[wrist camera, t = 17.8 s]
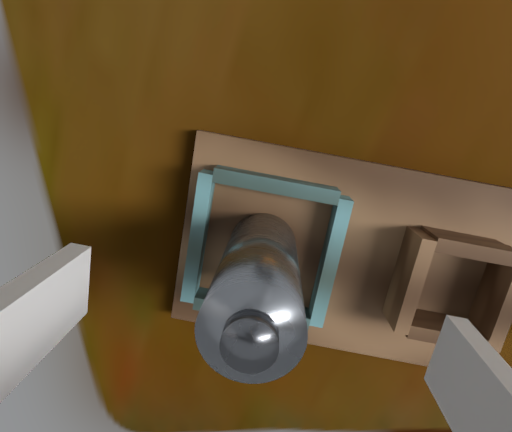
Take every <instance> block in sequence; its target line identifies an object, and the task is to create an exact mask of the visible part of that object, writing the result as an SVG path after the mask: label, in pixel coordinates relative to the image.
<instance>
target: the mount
mask: <svg viewBox="0 0 512 432" xmlns="http://www.w3.org/2000/svg"><path fill="white" fill-rule="evenodd" d="M257 213H268V214H272V215H275V216H277V217H279V218H281V219H282V220H284V221H285V222H286V223H287V224H288V225H289V226H290V228H291V229H292V231H293V233H294V236H295V240H296V248H297V255H298V263H299V270H300V277H301V285H302V292H303V300H304V307H305V315H306V322H307V329H308V340H307V344H312V345H318V346H323V347H328V348H333V349H339V350H344V351H349V352H354V353H359V354H365V355H370V356H375V357H380V358H386V359H391V360H396V361H401V362H407V363H412V364H417V365H422V366H428V365H429V363H430V360H431V357H432V354H433V351H434V348H435V346H436V343H437V340H438V337H439V334H440V332H441V329H442V326H443V323H444V320H445V318H446V315H450V316H455V317H460V318H466V319H468V320H469V321H470V322H471V323H472V324H473V326H474V327H475V328H476V329H477V330H478V331H479V332H480V333H481V335H482V336H483V337H484V338H485V339H486V340H487V341H488V342H489V344H490V345H491V346H492V347H493V348H494V349H495V350H496V351H497V352H498V353H500V352H501V349H502V346H503V344H504V341H505V339H506V336H507V334H508V331H509V328H510V326H511V323H512V188H509V187H504V186H498V185H493V184H488V183H482V182H477V181H471V180H466V179H461V178H455V177H450V176H445V175H439V174H434V173H429V172H423V171H418V170H412V169H407V168H402V167H396V166H391V165H386V164H380V163H375V162H369V161H364V160H359V159H353V158H348V157H343V156H337V155H332V154H326V153H321V152H316V151H310V150H305V149H300V148H294V147H289V146H284V145H278V144H273V143H267V142H262V141H257V140H251V139H246V138H241V137H235V136H230V135H224V134H219V133H214V132H208V131H203V130H197V132H196V140H195V147H194V154H193V161H192V169H191V176H190V183H189V191H188V198H187V205H186V212H185V220H184V227H183V234H182V242H181V249H180V256H179V263H178V271H177V278H176V285H175V293H174V300H173V307H172V314H171V318H176V319H181V320H187V321H192V322H196V319H197V316H198V313H199V311H200V308H201V306H202V304H203V301H204V299H205V296H206V294H207V292H208V289H209V287H210V284H211V282H212V280H213V277H214V275H215V272H216V270H217V268H218V265H219V263H220V261H221V258H222V256H223V253H224V251H225V249H226V246H227V244H228V241H229V239H230V237H231V234H232V232H233V230H234V228H235V227H236V225H237V224H238V223H239V222H240V221H241V220H243V219H244V218H246V217H247V216H250V215H253V214H257Z"/></svg>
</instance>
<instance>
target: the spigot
mask: <svg viewBox="0 0 512 432" xmlns="http://www.w3.org/2000/svg"><path fill="white" fill-rule="evenodd" d="M195 339H196V343H197V346H198V349H199V351H200V353H201V355H202V357H203V358H204V360H205V361H206V362H207V363H208V364H209V366H210V367H211V368H213V369H214V370H215V371H216V372H218V373H219V374H221V375H222V376H224V377H226V378H228V379H231V380H234V381H237V382H241V383H248V384H258V383H265V382H270V381H273V380H276V379H278V378H280V377H282V376H284V375H285V374H287V373H288V372H290V371H291V370H292V369H293V368H294V367H295V366H296V365H297V364H298V363H299V361H300V360H301V358H302V356H303V354H304V352H305V349H306V346H307V340H308V329H307V322H306V315H305V307H304V300H303V292H302V285H301V277H300V270H299V263H298V255H297V248H296V240H295V236H294V233H293V231H292V229H291V228H290V226H289V225H288V224H287V223H286V222H285V221H284V220H282V219H281V218H279V217H277V216H275V215H272V214H268V213H257V214H253V215H250V216H247V217H246V218H244V219H243V220H241V221H240V222H239V223H238V224H237V225H236V227H235V228H234V230H233V232H232V234H231V237H230V239H229V241H228V244H227V246H226V249H225V251H224V253H223V256H222V258H221V261H220V263H219V265H218V268H217V270H216V272H215V275H214V277H213V280H212V282H211V284H210V287H209V289H208V292H207V294H206V296H205V299H204V301H203V304H202V306H201V308H200V311H199V313H198V316H197V319H196V323H195Z"/></svg>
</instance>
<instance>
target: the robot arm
mask: <svg viewBox="0 0 512 432" xmlns="http://www.w3.org/2000/svg"><path fill="white" fill-rule="evenodd" d="M90 261H91V246H85V245H80V244H75V243H70V244H68V245H67V246H65V247H63V248H62V249H60V250H59V251H57V252H55V253H54V254H52V255H51V256H49V257H47V258H46V259H44V260H43V261H41V262H39V263H38V264H36V265H35V266H33V267H31V268H30V269H28V270H27V271H25V272H24V273H22V274H21V275H19V276H17V277H15V278H14V279H12V280H11V281H9V282H8V283H6V284H4V285H3V286H1V287H0V403H1V402H2V401H3V400H4V399H5V398H6V397H7V396H8V394H10V392H11V391H12V390H13V389H14V388H15V387H16V386H17V385H18V384H19V383H20V382H21V381H22V380H23V379H24V378H25V377H26V376H27V375H28V374H29V373H30V371H32V370H33V369H34V368H35V366H36V365H37V364H38V363H39V362H40V361H41V360H42V359H43V358H44V357H45V356H46V355H47V354H48V353H49V352H50V351H51V350H52V349H53V348H54V347H55V346H56V345H57V344H58V343H59V341H61V340H62V338H63V337H64V336H65V335H66V334H67V333H68V332H69V331H70V330H71V329H72V328H73V327H74V326H75V325H76V324H77V323H78V322H79V321H80V320H81V319H82V318H83V317H84V316H85V315H86V314H87V308H88V293H89V277H90ZM424 379H425V381H426V383H427V385H428V387H429V389H430V391H431V393H432V394H433V396H434V398H435V400H436V402H437V404H438V406H439V408H440V409H441V411H442V413H443V415H444V417H445V419H446V421H447V423H448V424H449V426H450V428H451V430H452V432H512V368H511V367H510V366H509V365H508V364H507V363H506V361H505V360H504V359H503V358H502V357H501V356H500V355H499V354H498V352H497V351H496V350H495V349H494V348H493V347H492V346H491V345H490V344H489V342H488V341H487V340H486V339H485V338H484V337H483V336H482V335H481V333H480V332H479V331H478V330H477V329H476V328H475V327H474V326H473V324H472V323H471V322H470V321H469V320H468V319H466V318H460V317H455V316H450V315H446V318H445V320H444V323H443V326H442V329H441V332H440V334H439V337H438V340H437V343H436V346H435V348H434V351H433V354H432V357H431V360H430V363H429V365H428V368H427V371H426V374H425V377H424Z"/></svg>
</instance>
